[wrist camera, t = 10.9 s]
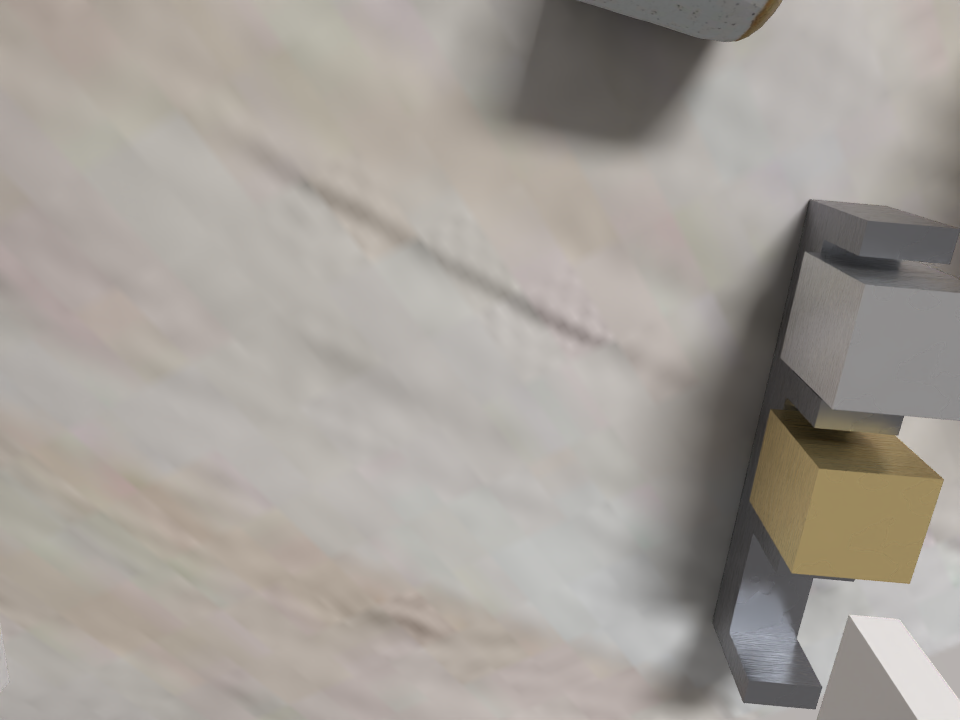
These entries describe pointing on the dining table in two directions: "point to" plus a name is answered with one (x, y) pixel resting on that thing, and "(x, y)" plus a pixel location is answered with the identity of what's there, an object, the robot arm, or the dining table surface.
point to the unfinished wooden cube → (842, 500)
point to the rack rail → (753, 555)
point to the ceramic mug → (698, 15)
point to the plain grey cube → (877, 335)
